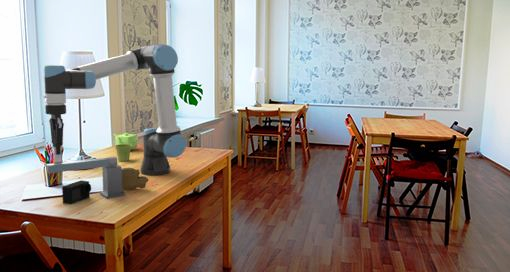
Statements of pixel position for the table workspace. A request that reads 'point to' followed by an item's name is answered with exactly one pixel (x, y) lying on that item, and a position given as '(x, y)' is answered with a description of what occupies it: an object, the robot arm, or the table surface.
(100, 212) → the table surface
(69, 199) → the digital camera
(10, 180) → the table surface
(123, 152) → the plant pot
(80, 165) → the swing arm
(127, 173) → the wooden carving
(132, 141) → the kettle
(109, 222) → the table surface
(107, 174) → the pivot post
